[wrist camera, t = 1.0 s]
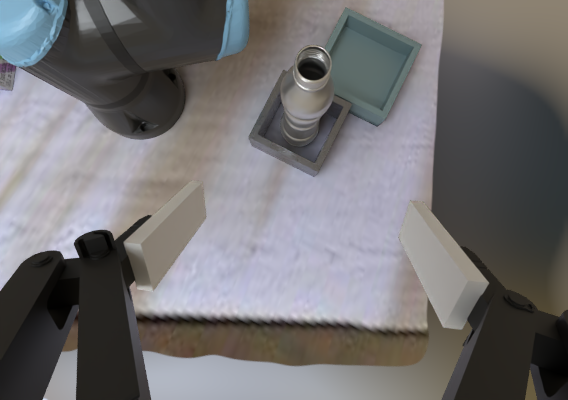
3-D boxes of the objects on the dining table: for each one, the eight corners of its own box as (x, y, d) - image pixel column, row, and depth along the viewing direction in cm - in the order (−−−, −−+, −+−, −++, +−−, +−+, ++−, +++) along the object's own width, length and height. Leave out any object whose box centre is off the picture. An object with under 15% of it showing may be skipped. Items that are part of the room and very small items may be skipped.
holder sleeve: (251, 145, 44) (248, 137, 39) (283, 85, 44) (283, 69, 40) (313, 176, 44) (318, 172, 39) (344, 116, 44) (352, 103, 39)
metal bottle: (318, 114, 44) (350, 32, 24) (314, 152, 44) (343, 101, 24) (282, 109, 44) (283, 25, 24) (277, 147, 44) (276, 93, 24)
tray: (305, 90, 45) (308, 80, 41) (340, 23, 45) (345, 7, 42) (377, 126, 44) (385, 119, 41) (410, 57, 45) (421, 44, 42)
